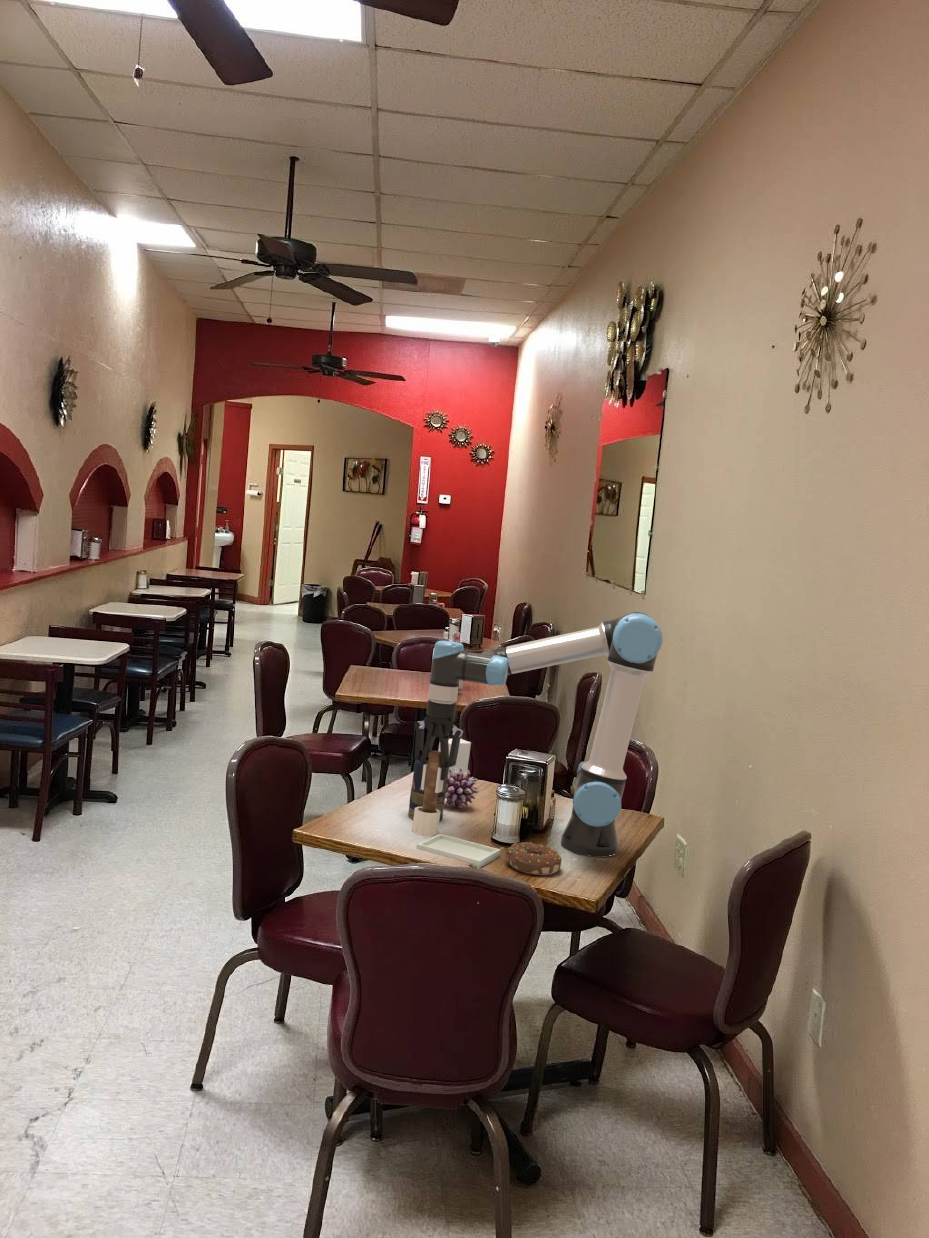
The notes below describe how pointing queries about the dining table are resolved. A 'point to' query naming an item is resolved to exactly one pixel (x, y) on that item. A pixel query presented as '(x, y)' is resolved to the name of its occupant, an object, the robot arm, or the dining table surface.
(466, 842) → the tray
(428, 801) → the dowel
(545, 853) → the donut
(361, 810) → the dining table surface
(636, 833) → the dining table surface
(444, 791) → the canister
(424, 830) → the tumbler
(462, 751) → the skincare box
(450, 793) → the flower
